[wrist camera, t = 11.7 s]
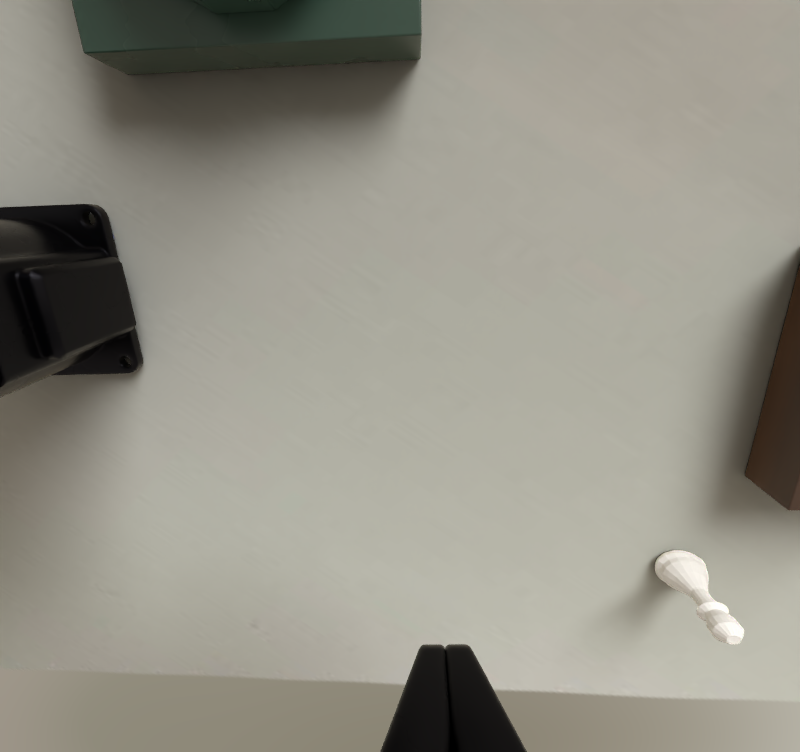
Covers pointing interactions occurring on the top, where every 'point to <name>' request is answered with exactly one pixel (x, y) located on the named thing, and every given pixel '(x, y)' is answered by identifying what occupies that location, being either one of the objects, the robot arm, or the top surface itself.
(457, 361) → the top surface
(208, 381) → the top surface
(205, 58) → the box
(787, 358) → the lock plate
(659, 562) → the chess pawn
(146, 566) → the top surface
